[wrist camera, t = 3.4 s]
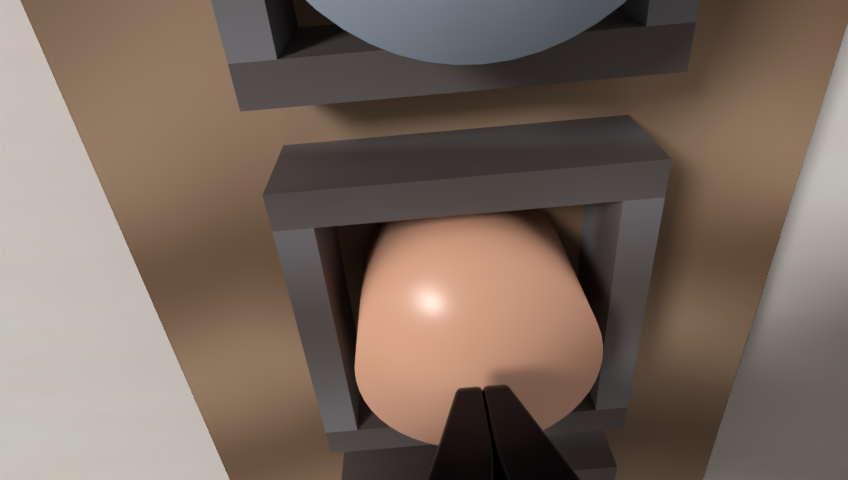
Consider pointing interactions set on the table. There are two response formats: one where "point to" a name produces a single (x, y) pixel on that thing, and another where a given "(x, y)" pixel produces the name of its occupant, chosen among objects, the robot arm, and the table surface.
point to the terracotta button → (472, 319)
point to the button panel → (444, 202)
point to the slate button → (465, 26)
